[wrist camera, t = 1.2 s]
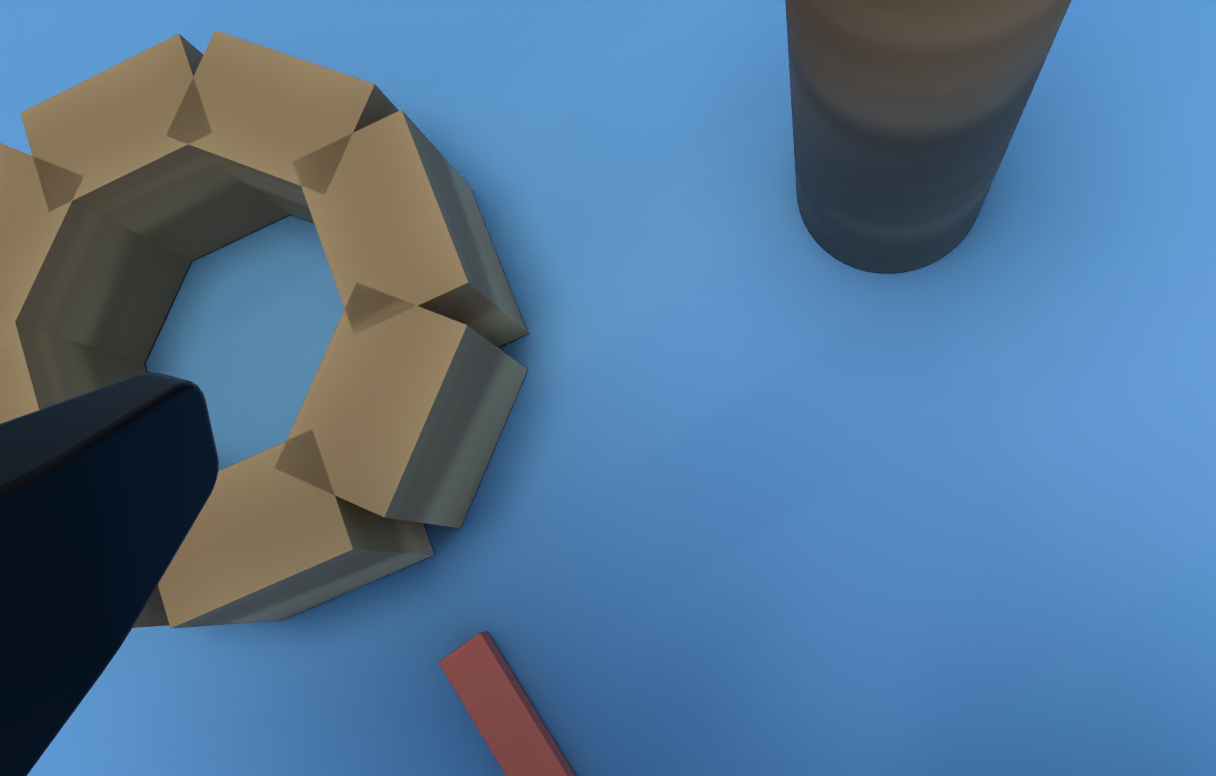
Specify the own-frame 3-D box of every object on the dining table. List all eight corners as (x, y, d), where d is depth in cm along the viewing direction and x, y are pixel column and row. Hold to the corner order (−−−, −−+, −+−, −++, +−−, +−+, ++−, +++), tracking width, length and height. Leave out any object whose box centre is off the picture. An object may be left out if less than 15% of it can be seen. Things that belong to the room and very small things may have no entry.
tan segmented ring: (589, 488, 22) (540, 468, 18) (137, 682, 23) (-2, 703, 19) (417, 53, 24) (340, -48, 20) (14, 248, 25) (-131, 188, 21)
